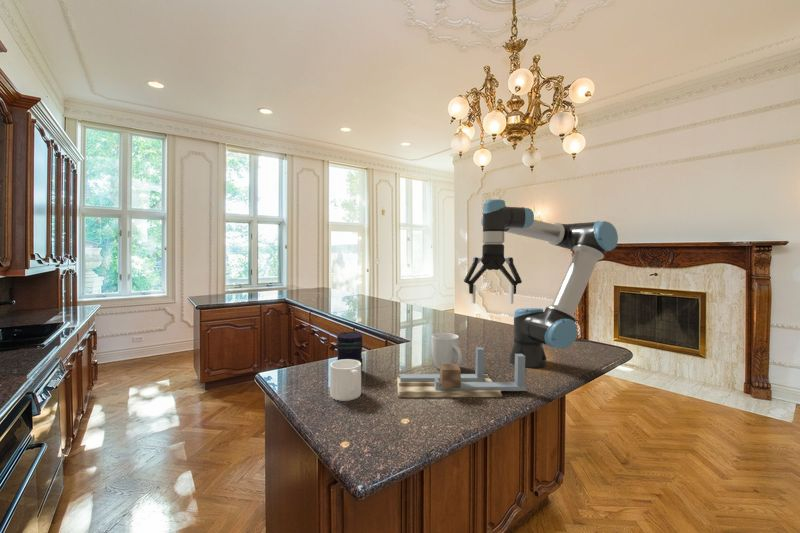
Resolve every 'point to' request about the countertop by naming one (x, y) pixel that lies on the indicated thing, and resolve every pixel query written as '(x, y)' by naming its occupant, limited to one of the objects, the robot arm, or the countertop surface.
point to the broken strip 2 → (476, 368)
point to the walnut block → (450, 376)
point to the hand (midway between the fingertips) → (492, 303)
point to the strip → (502, 386)
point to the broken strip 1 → (419, 377)
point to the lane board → (429, 391)
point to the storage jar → (350, 346)
